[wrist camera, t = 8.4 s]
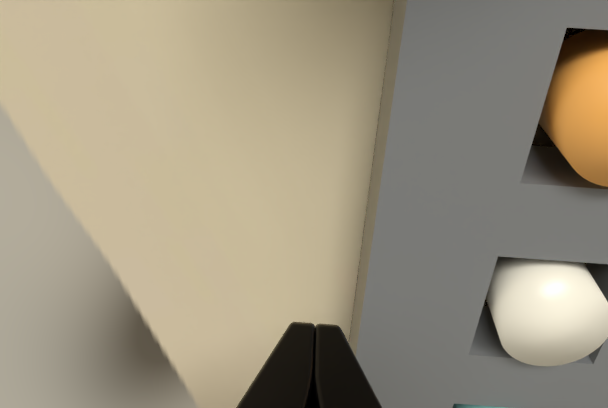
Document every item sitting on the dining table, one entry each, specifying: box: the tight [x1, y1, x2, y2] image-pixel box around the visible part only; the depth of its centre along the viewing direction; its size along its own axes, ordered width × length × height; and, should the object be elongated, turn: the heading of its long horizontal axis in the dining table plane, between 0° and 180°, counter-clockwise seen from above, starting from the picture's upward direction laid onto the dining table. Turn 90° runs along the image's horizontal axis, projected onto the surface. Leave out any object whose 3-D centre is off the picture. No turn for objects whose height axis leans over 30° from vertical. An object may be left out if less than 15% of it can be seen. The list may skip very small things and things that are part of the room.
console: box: [349, 0, 608, 408], centre depth 22 cm, size 14×24×3 cm, turn 177°
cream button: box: [486, 256, 608, 366], centre depth 22 cm, size 4×4×3 cm
